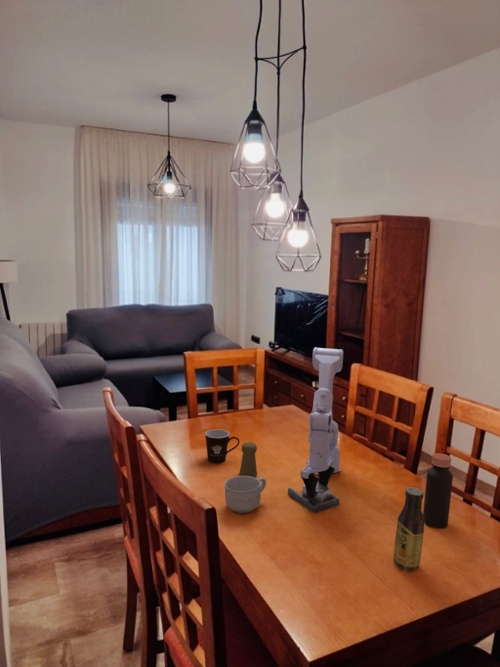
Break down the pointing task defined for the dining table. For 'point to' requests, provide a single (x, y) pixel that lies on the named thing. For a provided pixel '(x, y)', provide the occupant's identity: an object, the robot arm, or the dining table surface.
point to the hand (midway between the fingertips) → (316, 492)
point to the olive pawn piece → (248, 460)
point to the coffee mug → (218, 445)
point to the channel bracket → (312, 506)
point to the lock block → (318, 494)
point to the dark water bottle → (438, 492)
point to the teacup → (243, 493)
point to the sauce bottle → (410, 532)
